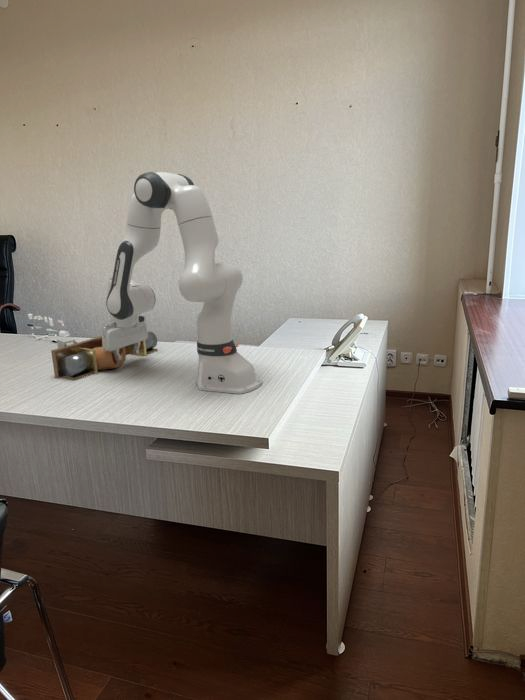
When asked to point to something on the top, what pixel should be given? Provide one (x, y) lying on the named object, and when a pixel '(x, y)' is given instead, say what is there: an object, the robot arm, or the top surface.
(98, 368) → the tan piece
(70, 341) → the electrical component
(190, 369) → the top surface
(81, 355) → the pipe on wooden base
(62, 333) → the plumbing parts
